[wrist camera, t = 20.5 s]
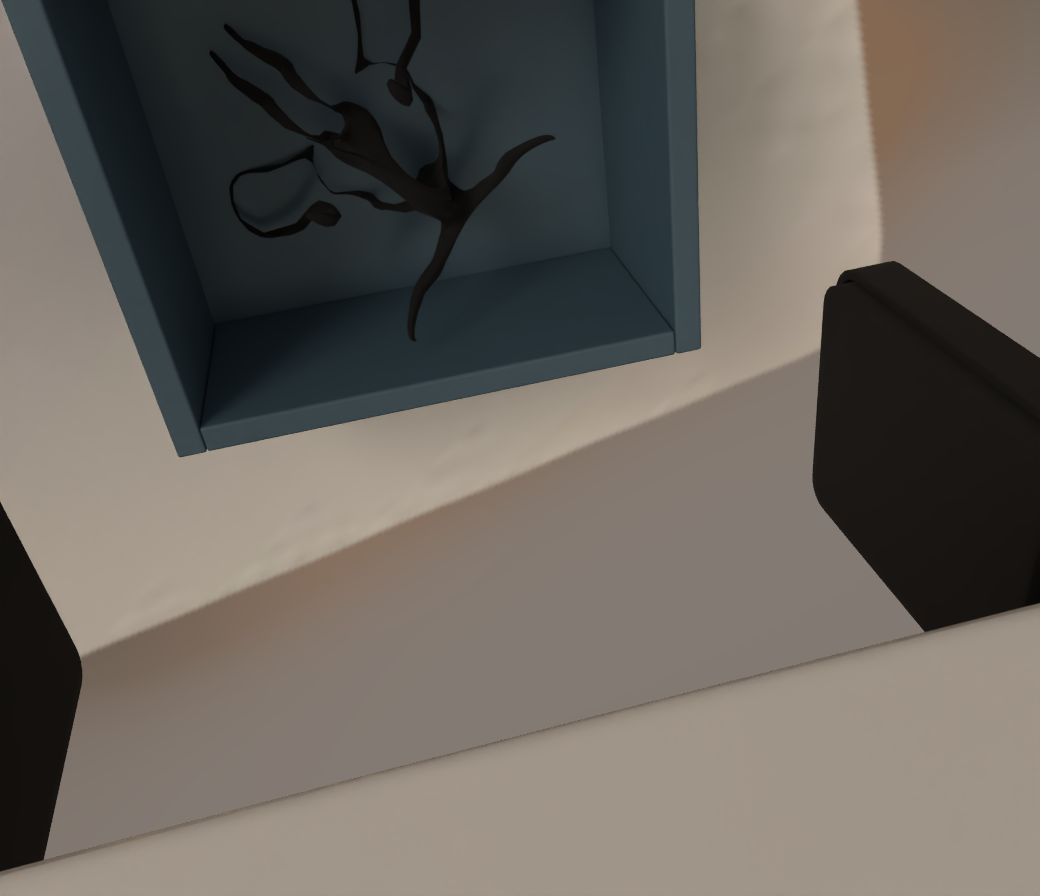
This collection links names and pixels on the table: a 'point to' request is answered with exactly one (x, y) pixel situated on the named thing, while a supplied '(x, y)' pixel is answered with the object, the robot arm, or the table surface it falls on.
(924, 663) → the robot arm
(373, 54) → the teal open box
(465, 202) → the creature
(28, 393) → the table surface
